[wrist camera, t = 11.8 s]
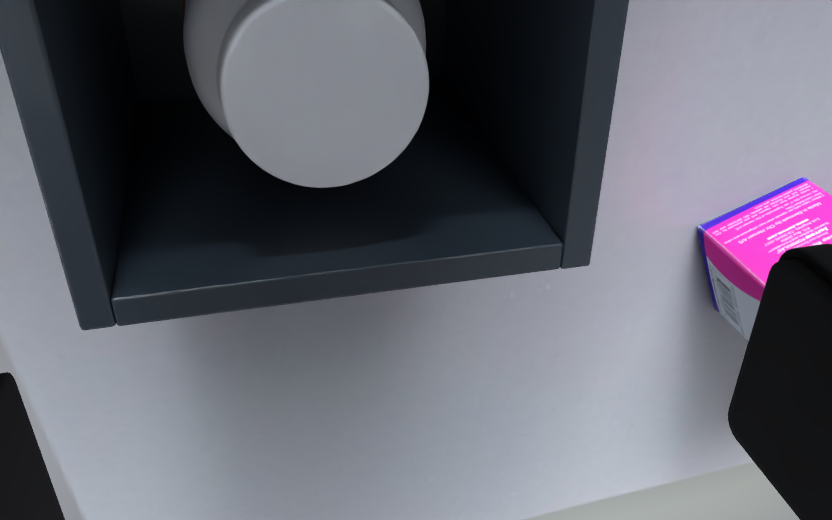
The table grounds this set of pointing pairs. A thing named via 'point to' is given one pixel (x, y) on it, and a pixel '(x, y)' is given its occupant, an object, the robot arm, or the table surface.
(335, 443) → the table surface
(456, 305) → the table surface
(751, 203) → the supplement box
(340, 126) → the pill bottle
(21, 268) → the table surface
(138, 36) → the trash bin
